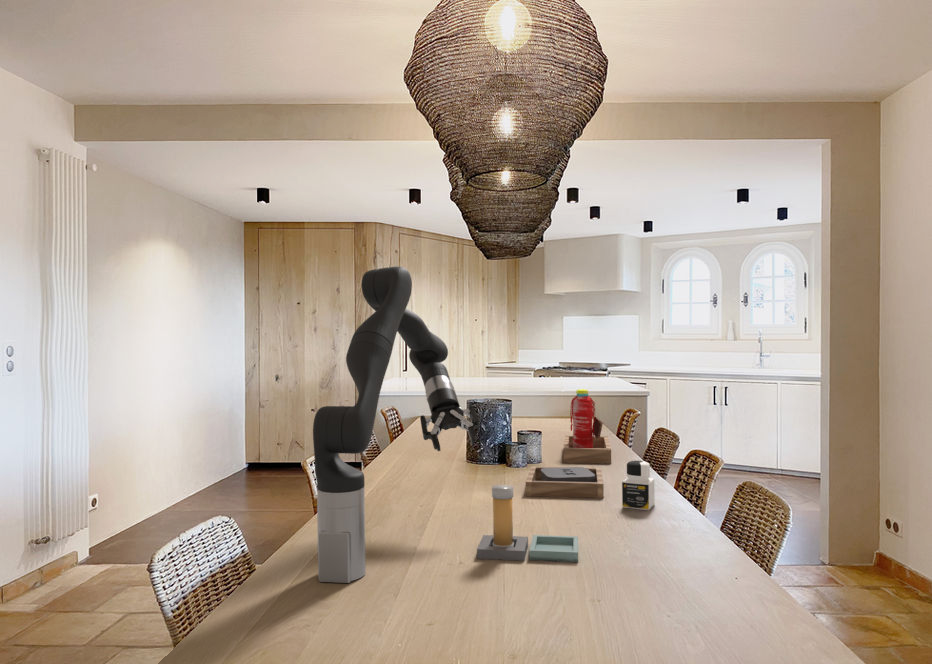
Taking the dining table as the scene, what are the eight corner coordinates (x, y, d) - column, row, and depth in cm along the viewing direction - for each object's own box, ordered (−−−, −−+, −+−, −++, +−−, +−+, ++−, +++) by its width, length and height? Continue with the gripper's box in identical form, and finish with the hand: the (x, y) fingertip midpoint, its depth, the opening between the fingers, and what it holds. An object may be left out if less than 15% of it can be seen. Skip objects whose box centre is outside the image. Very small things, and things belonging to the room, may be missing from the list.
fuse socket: (524, 560, 143) (524, 551, 143) (476, 558, 145) (476, 549, 145) (528, 545, 153) (528, 536, 153) (483, 543, 155) (483, 535, 155)
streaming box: (597, 494, 201) (597, 476, 201) (548, 495, 200) (548, 478, 200) (584, 483, 216) (584, 466, 216) (539, 484, 214) (539, 468, 214)
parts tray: (578, 562, 142) (578, 552, 142) (529, 560, 144) (529, 550, 144) (578, 545, 153) (578, 536, 153) (533, 543, 154) (533, 534, 154)
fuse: (512, 555, 146) (512, 490, 146) (491, 555, 147) (490, 489, 147) (514, 549, 151) (514, 485, 151) (494, 548, 152) (493, 484, 152)
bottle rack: (611, 463, 245) (611, 449, 245) (563, 462, 248) (563, 448, 248) (607, 448, 275) (607, 436, 275) (565, 448, 277) (565, 435, 277)
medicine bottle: (622, 507, 185) (621, 462, 185) (628, 501, 191) (628, 458, 191) (648, 510, 181) (648, 465, 181) (654, 504, 188) (654, 460, 188)
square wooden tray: (603, 497, 196) (603, 483, 196) (526, 495, 199) (525, 481, 199) (601, 480, 217) (601, 468, 217) (531, 479, 221) (531, 466, 221)
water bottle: (602, 453, 264) (602, 388, 264) (603, 457, 256) (602, 390, 256) (571, 453, 266) (570, 388, 266) (570, 456, 258) (569, 390, 258)
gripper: (413, 392, 175) (426, 441, 163) (467, 381, 177) (484, 429, 165) (415, 412, 180) (428, 461, 168) (468, 401, 182) (484, 448, 170)
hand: (456, 445), depth 167 cm, fingers open, 8 cm apart
